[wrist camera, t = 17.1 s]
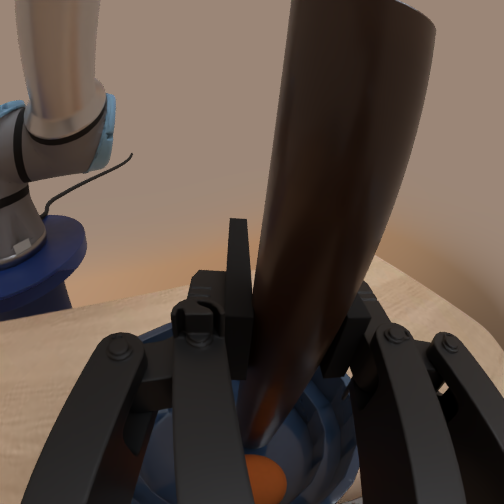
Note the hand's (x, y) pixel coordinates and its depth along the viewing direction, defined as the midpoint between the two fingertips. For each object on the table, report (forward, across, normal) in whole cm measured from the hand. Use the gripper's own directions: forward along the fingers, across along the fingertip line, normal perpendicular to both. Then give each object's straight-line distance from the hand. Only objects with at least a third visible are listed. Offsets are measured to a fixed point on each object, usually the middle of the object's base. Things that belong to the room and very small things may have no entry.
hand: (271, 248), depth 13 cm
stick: (-4, 0, -11) cm, 12 cm away
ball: (-8, 0, -11) cm, 13 cm away
